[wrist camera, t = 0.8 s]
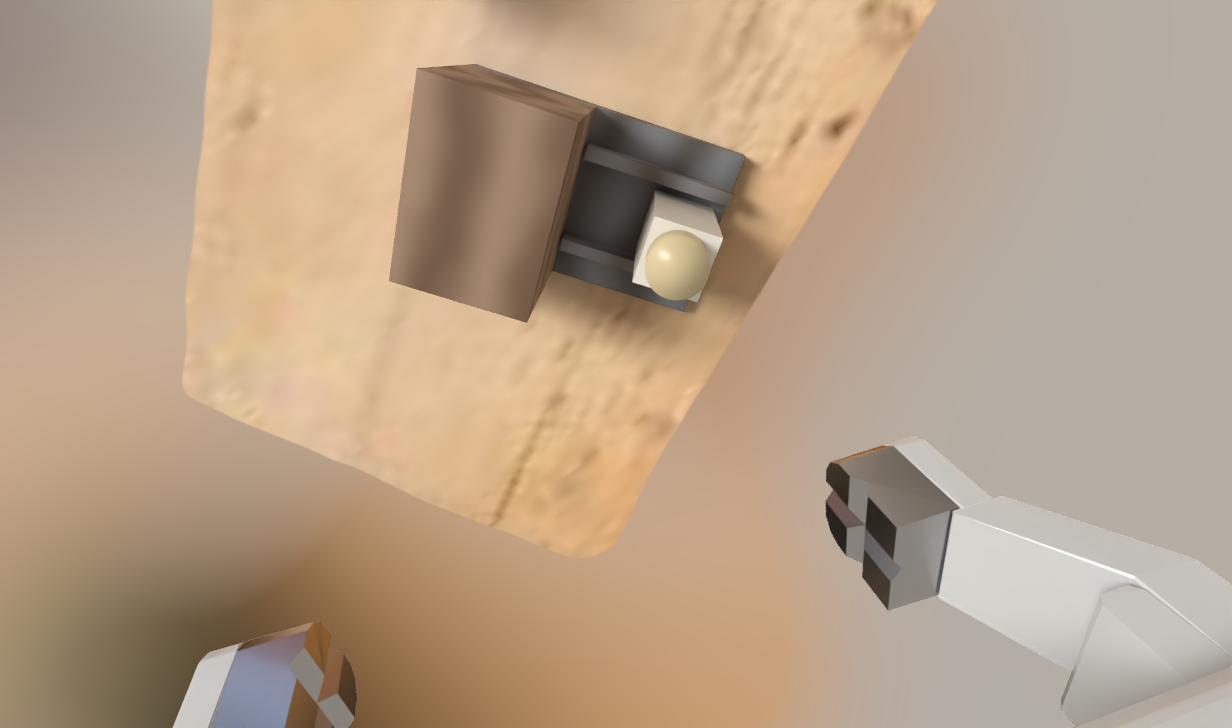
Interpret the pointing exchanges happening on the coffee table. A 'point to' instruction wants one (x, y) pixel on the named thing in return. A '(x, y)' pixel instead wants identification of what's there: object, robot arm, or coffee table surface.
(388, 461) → the coffee table surface
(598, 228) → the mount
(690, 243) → the knob
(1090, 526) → the robot arm
